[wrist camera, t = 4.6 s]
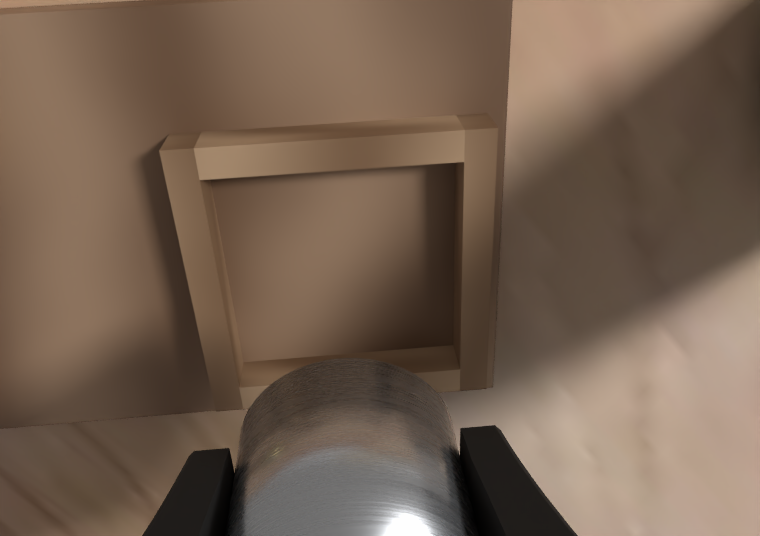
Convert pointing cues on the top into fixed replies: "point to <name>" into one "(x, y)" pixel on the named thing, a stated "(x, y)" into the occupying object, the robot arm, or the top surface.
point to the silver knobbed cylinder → (349, 457)
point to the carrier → (245, 198)
